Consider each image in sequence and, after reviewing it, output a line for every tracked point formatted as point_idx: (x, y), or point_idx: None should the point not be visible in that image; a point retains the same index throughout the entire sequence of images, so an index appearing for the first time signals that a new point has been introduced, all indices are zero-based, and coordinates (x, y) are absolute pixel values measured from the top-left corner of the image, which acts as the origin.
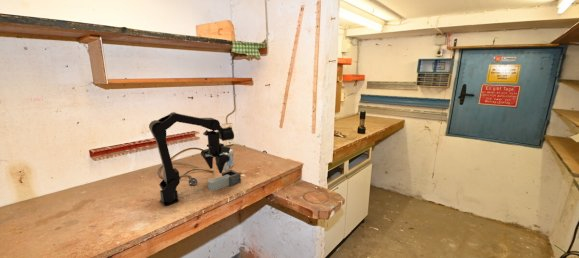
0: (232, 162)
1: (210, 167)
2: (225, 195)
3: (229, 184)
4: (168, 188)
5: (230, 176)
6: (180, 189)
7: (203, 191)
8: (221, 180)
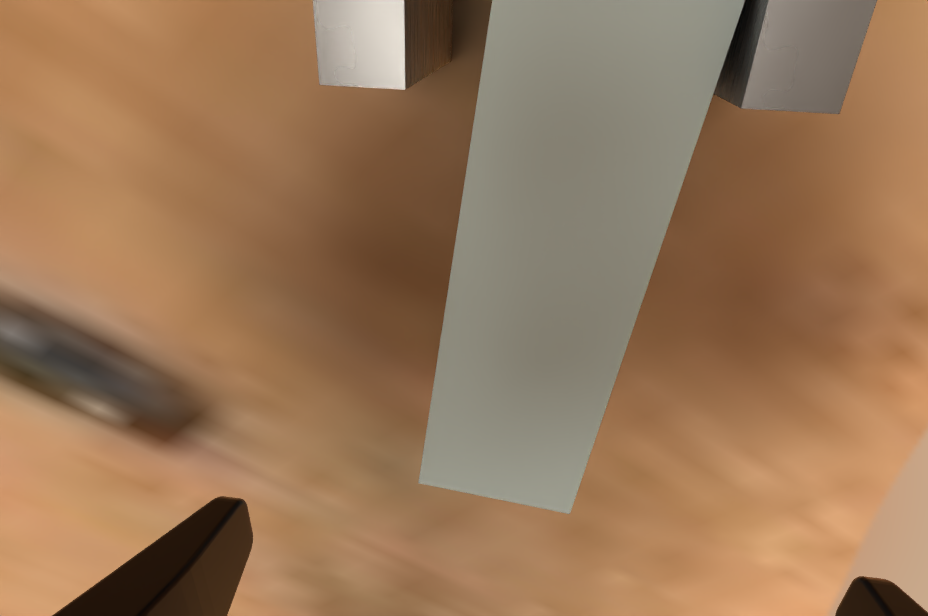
0: None
1: (228, 594)
2: (889, 366)
3: None
4: None
5: (801, 80)
6: None
7: None
8: (633, 300)
